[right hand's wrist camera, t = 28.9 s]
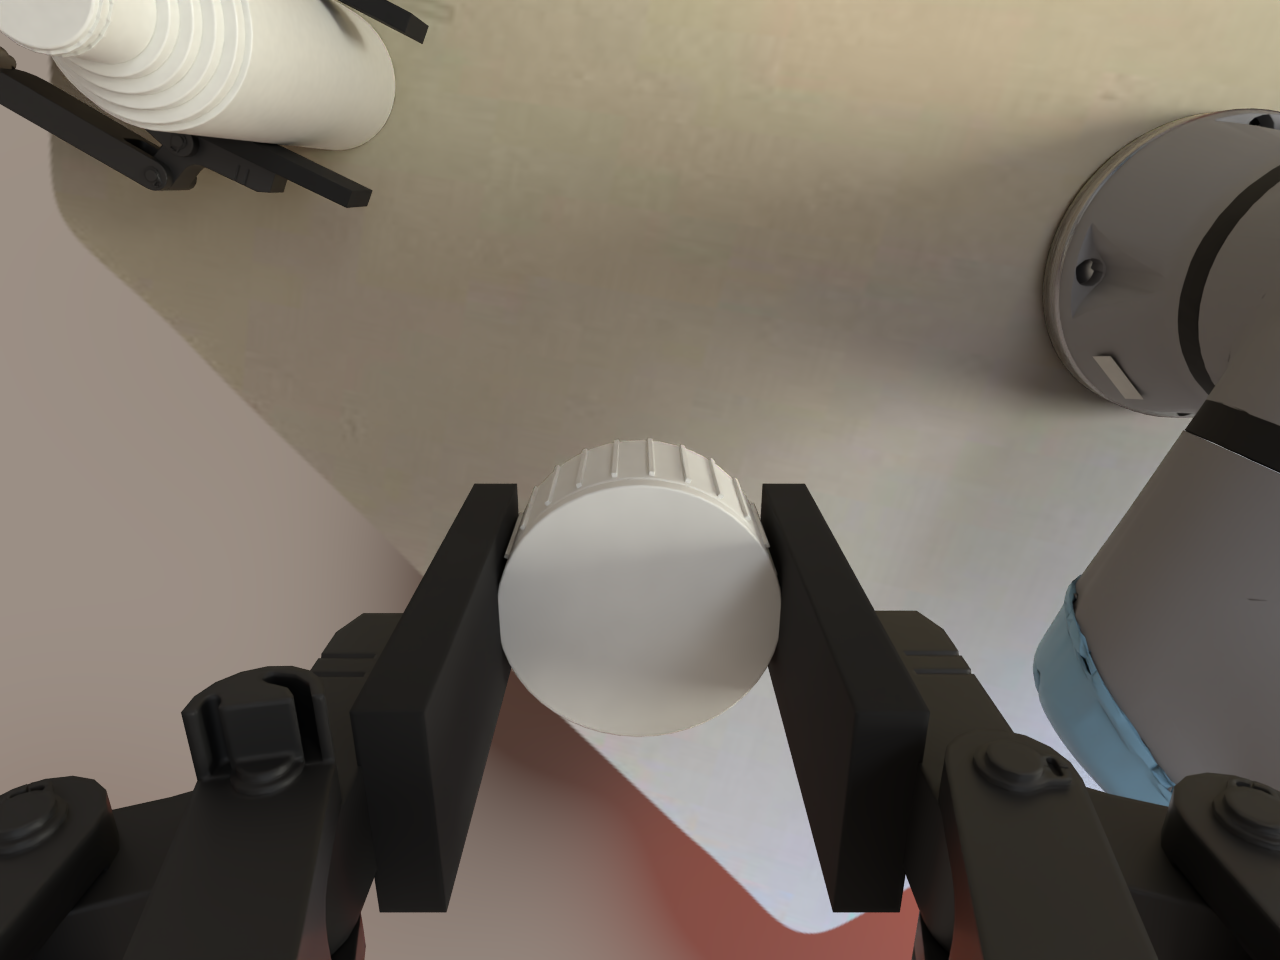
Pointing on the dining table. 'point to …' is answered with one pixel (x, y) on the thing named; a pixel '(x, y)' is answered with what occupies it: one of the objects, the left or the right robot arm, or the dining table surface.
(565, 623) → the cap
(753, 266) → the dining table surface
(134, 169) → the left robot arm
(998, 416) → the dining table surface
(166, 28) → the bottle
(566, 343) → the dining table surface
